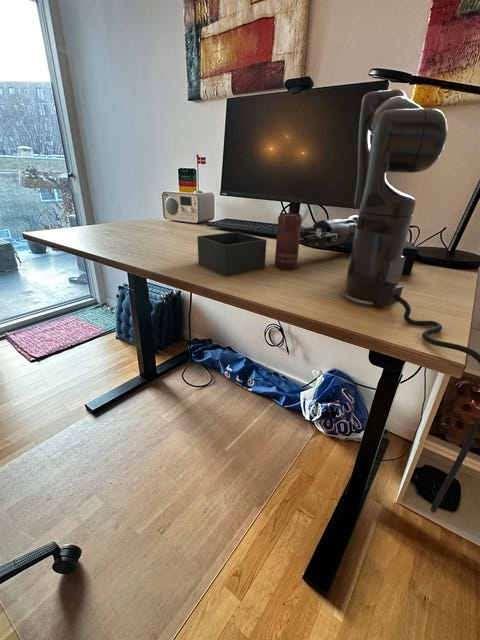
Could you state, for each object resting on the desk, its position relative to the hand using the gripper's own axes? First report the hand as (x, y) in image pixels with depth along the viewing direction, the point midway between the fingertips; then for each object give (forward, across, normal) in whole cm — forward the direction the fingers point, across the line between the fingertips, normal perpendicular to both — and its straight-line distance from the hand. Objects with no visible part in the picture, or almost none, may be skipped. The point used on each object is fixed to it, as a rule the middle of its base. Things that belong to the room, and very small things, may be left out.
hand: (292, 238), depth 80 cm
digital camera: (-24, +19, +8) cm, 32 cm away
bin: (+14, -9, +8) cm, 18 cm away
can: (+2, 0, +8) cm, 8 cm away
